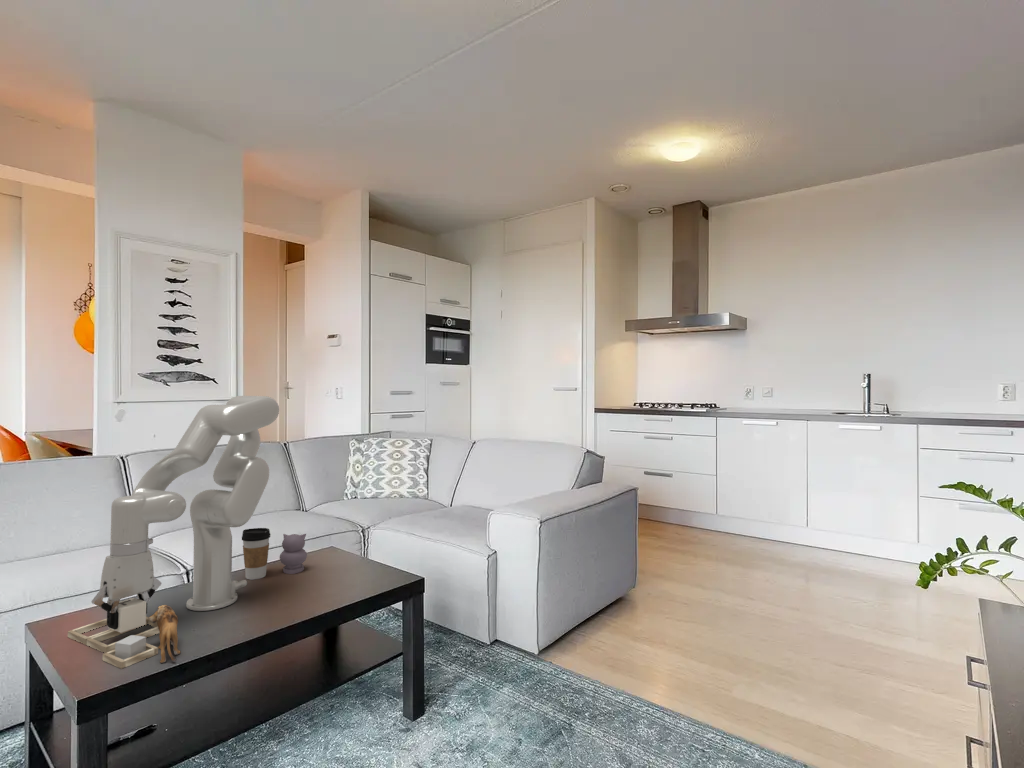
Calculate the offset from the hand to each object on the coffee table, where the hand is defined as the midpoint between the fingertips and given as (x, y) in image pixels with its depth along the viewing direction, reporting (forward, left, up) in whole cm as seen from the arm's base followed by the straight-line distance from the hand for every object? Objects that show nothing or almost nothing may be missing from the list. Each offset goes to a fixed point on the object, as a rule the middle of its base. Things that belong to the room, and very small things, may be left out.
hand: (127, 622), depth 133 cm
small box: (+5, +11, -4) cm, 12 cm away
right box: (0, -9, -4) cm, 9 cm away
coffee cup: (-43, -10, -4) cm, 45 cm away
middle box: (0, 0, -4) cm, 4 cm away
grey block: (+5, +11, -4) cm, 12 cm away
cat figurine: (-53, -5, -4) cm, 53 cm away
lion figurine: (-1, +15, -4) cm, 15 cm away
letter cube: (0, 0, -1) cm, 1 cm away
